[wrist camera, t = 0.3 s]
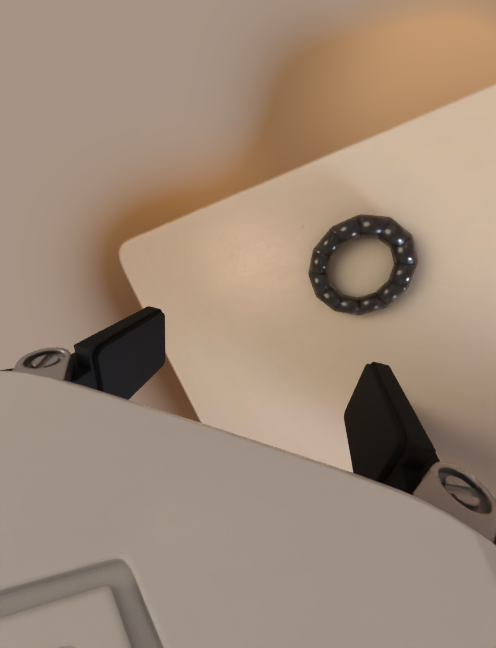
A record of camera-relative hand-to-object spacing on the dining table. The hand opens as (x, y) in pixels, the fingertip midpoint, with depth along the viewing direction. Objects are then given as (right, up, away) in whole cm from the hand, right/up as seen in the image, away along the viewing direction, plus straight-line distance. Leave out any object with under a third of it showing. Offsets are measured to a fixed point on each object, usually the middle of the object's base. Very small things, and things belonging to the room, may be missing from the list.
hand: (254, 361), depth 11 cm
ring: (+11, +7, +12) cm, 18 cm away
